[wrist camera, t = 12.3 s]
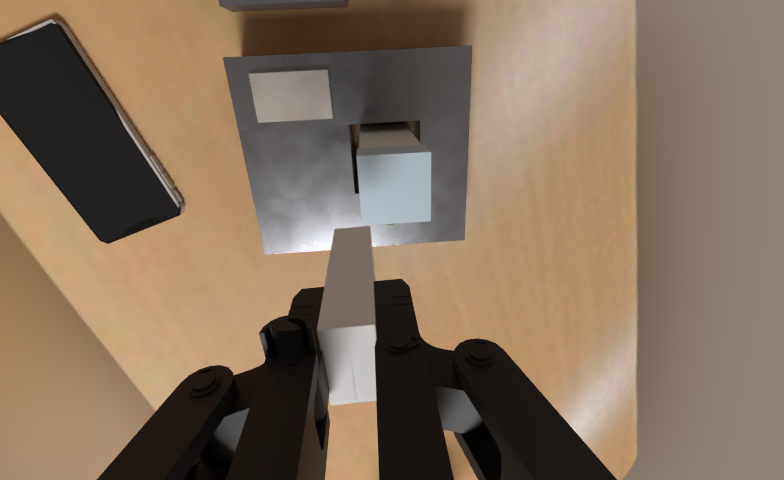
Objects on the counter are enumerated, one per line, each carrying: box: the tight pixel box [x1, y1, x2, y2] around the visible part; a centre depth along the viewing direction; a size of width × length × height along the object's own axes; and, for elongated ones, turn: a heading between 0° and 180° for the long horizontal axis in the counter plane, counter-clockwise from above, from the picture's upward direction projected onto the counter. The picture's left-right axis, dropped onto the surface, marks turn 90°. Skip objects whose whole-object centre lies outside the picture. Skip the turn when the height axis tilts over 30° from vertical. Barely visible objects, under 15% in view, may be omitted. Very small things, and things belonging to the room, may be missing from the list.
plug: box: [356, 124, 431, 226], centre depth 25 cm, size 4×4×12 cm
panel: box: [223, 46, 472, 255], centre depth 28 cm, size 14×16×4 cm
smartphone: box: [0, 19, 185, 244], centre depth 28 cm, size 8×1×15 cm
